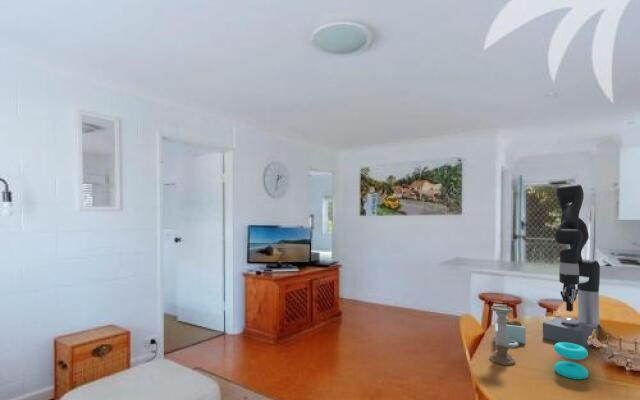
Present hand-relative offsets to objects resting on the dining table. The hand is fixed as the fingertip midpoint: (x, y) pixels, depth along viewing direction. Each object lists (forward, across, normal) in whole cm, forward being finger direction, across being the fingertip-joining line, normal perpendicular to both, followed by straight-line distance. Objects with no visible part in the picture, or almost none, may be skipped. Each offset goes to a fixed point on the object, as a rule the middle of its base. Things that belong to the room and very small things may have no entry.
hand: (569, 311), depth 167 cm
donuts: (+13, +41, +16) cm, 46 cm away
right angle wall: (+14, +30, -11) cm, 35 cm away
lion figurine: (+13, +16, -19) cm, 28 cm away
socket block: (+13, 0, 0) cm, 13 cm away
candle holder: (+13, +50, -4) cm, 52 cm away
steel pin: (+12, 0, 0) cm, 12 cm away
